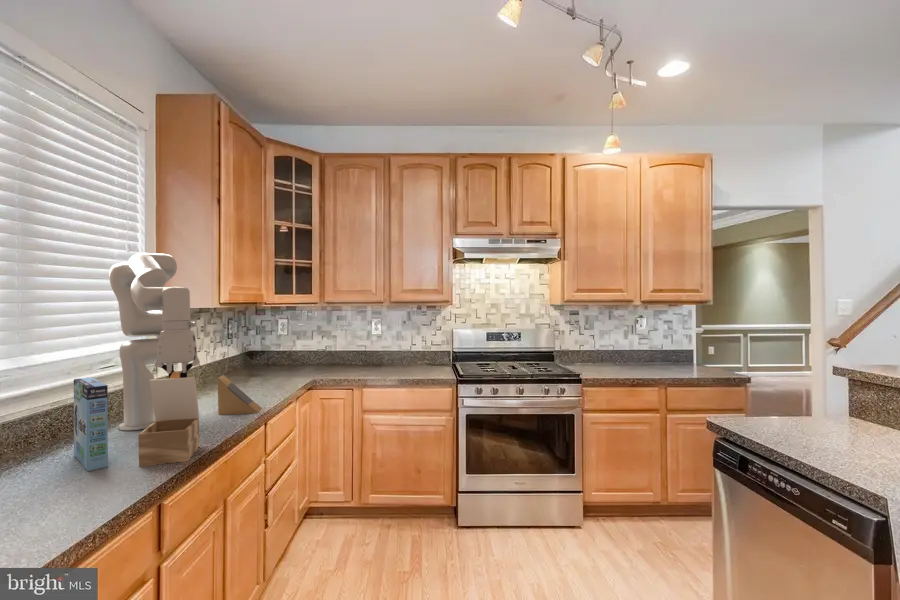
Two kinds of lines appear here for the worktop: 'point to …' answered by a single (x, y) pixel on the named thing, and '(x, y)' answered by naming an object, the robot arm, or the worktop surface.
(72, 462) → the worktop surface
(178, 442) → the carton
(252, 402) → the sandwich container
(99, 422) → the gum box
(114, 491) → the worktop surface
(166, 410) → the lid
